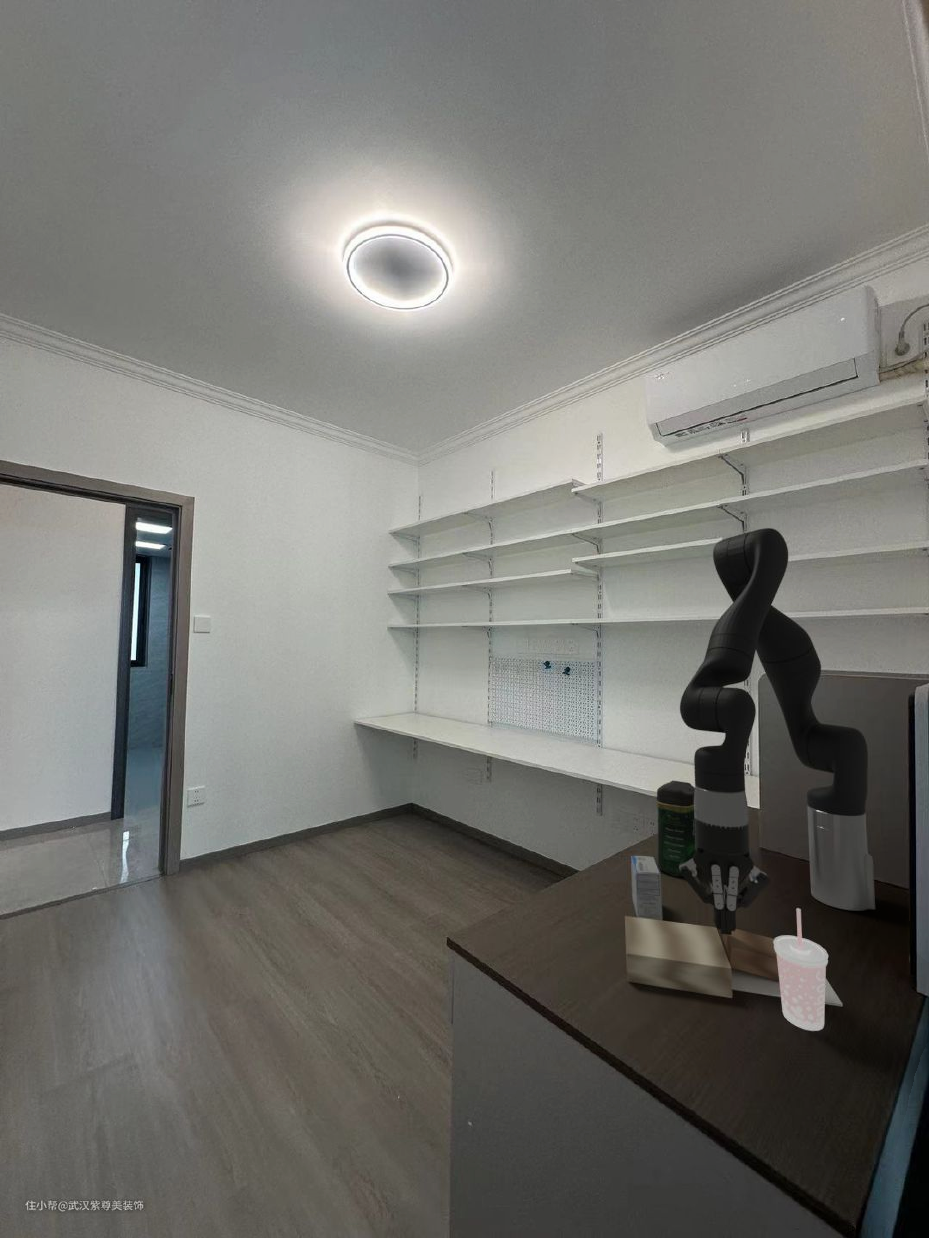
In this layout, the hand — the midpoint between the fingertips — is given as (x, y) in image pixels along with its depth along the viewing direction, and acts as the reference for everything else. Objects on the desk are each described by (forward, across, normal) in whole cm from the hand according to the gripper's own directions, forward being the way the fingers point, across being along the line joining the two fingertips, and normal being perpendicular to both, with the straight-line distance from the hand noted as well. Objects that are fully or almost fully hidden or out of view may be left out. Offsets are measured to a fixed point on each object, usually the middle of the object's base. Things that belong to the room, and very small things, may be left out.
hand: (724, 931), depth 79 cm
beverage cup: (+6, -8, +9) cm, 13 cm away
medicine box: (+6, +11, -15) cm, 19 cm away
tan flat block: (+5, +8, +2) cm, 9 cm away
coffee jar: (+6, +3, -36) cm, 36 cm away
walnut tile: (+4, -4, 0) cm, 6 cm away
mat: (+5, -6, +1) cm, 8 cm away
